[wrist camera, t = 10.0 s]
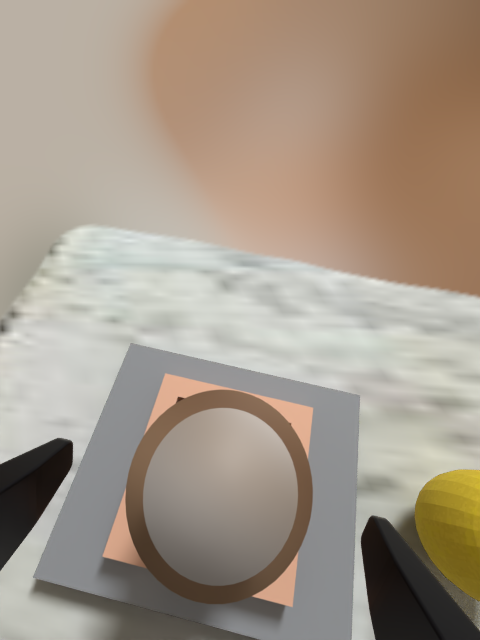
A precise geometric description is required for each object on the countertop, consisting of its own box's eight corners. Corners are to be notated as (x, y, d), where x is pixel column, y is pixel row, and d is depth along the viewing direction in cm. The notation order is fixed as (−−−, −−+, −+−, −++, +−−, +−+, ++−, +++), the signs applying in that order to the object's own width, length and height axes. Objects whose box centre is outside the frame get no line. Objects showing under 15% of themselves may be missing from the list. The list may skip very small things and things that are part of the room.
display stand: (342, 652, 15) (361, 680, 13) (43, 571, 16) (18, 585, 14) (354, 398, 21) (367, 391, 19) (134, 348, 22) (125, 336, 20)
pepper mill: (220, 550, 16) (225, 769, 4) (158, 478, 17) (31, 496, 6) (279, 472, 18) (395, 478, 6) (219, 413, 19) (219, 323, 7)
